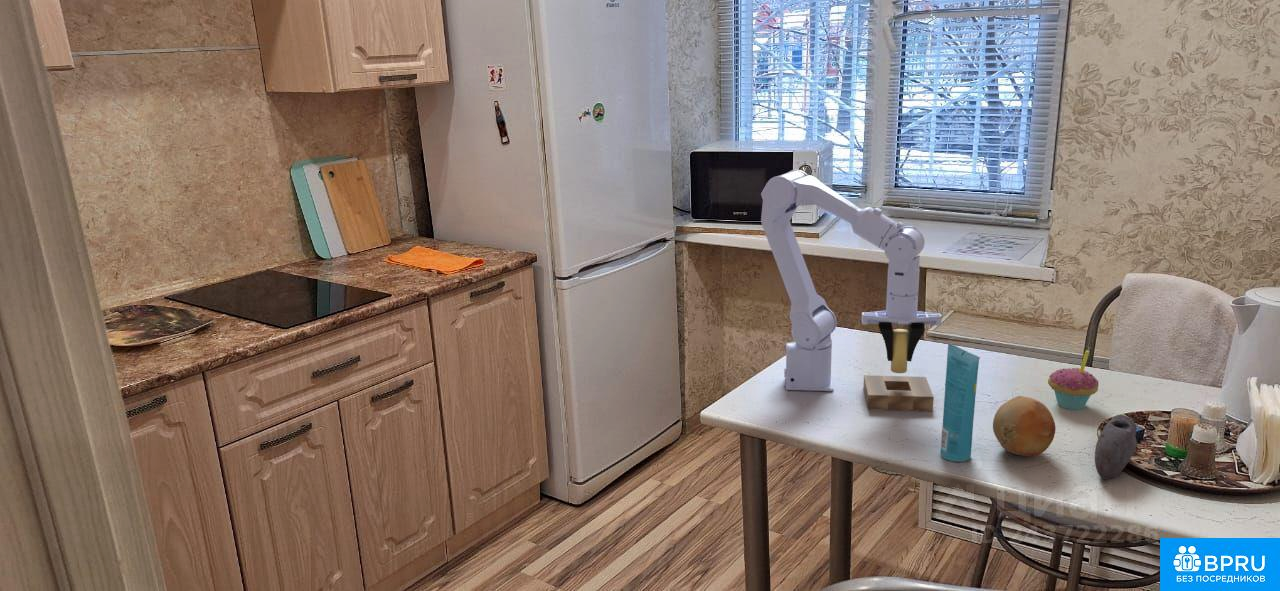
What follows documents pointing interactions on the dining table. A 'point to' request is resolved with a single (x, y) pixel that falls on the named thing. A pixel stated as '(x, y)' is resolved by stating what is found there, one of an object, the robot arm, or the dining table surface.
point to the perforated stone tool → (1115, 446)
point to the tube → (959, 404)
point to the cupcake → (1073, 386)
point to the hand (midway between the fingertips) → (899, 359)
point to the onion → (1024, 426)
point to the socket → (898, 393)
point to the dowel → (899, 350)
